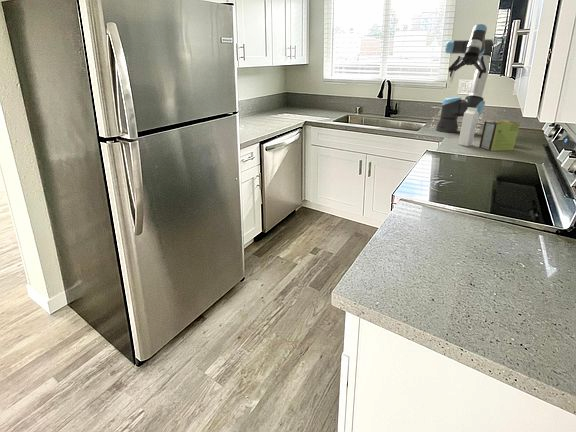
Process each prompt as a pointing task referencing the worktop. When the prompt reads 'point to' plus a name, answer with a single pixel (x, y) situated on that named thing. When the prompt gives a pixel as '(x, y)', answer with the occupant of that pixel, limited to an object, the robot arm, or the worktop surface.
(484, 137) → the protein box
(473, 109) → the milk
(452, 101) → the robot arm
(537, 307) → the worktop surface
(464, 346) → the worktop surface
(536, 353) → the worktop surface
